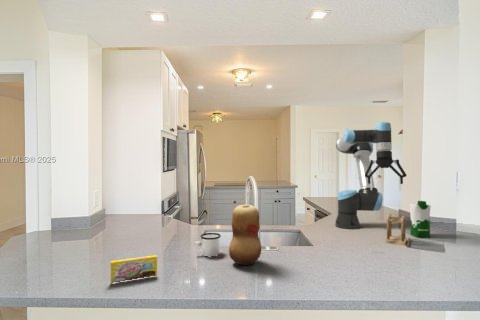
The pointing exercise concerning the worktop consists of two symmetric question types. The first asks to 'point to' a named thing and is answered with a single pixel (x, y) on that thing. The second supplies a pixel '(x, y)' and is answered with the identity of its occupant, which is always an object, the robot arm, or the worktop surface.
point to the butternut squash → (245, 235)
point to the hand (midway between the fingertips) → (385, 190)
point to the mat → (427, 246)
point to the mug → (210, 244)
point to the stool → (402, 239)
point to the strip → (408, 242)
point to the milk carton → (420, 219)
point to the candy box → (133, 268)
